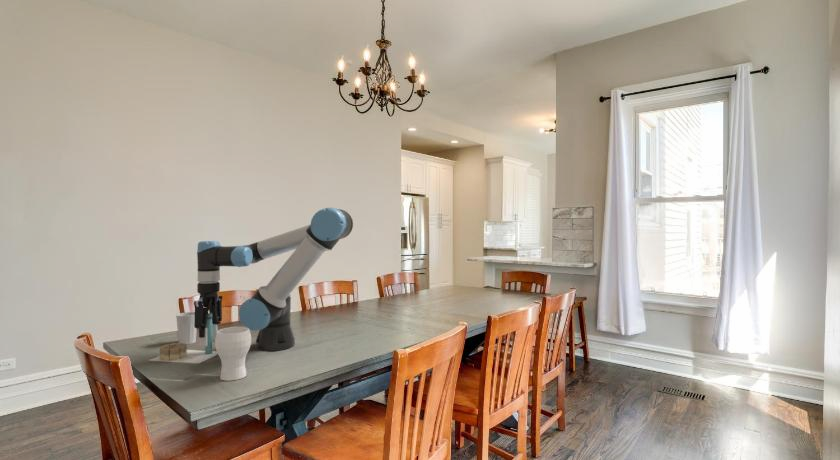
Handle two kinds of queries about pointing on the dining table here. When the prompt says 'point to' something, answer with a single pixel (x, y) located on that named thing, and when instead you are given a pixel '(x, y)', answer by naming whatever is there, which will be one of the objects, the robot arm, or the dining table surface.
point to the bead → (173, 351)
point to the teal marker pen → (209, 334)
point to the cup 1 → (186, 327)
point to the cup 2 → (233, 351)
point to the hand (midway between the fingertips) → (208, 343)
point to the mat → (191, 357)
